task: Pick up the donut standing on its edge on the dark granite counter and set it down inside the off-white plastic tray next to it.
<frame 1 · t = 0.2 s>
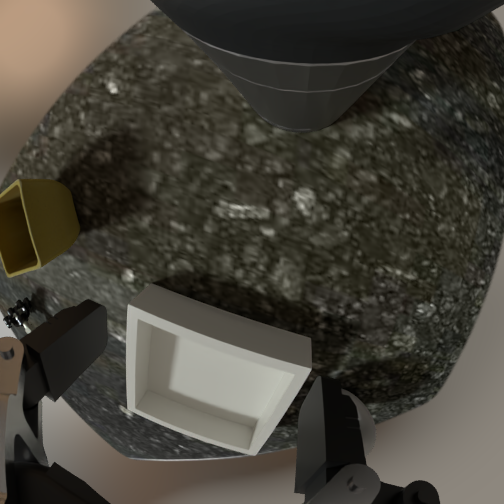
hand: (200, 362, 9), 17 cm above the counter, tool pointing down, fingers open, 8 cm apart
tray: (211, 370, 32), on the counter
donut: (340, 392, 30), on the counter
valve: (50, 328, 36), on the counter
flower pot: (64, 213, 29), on the counter
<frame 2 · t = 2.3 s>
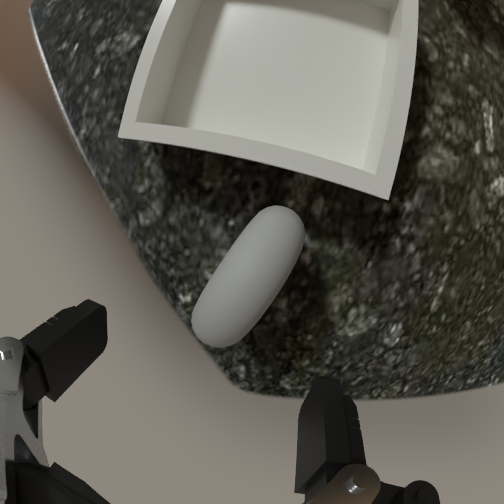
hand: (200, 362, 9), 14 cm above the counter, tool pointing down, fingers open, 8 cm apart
tray: (281, 57, 18), on the counter
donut: (258, 253, 23), on the counter
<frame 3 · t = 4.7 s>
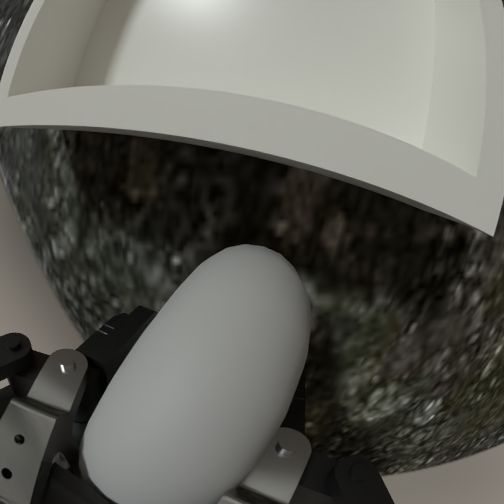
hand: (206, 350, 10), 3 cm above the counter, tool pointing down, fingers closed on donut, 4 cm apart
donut: (225, 313, 13), on the counter, touching gripper
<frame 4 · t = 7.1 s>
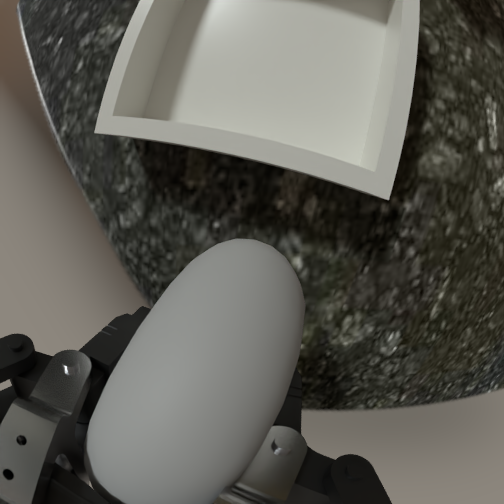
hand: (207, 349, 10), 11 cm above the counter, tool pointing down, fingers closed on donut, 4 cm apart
tray: (272, 47, 16), on the counter
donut: (224, 310, 13), point 8 cm above the counter, touching gripper
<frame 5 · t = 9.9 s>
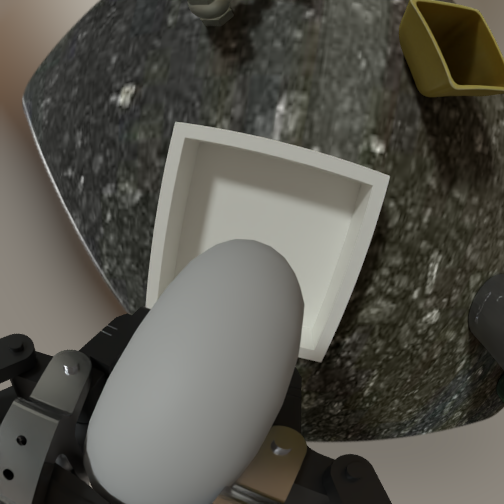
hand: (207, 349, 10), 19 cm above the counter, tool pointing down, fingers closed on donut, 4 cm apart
tray: (260, 237, 28), on the counter
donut: (224, 311, 13), point 16 cm above the counter, touching gripper
flower pot: (428, 71, 20), on the counter
when the fingers open (5 cm above the counter, at t = 13.0 s): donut drops 1 cm, resting on tray.
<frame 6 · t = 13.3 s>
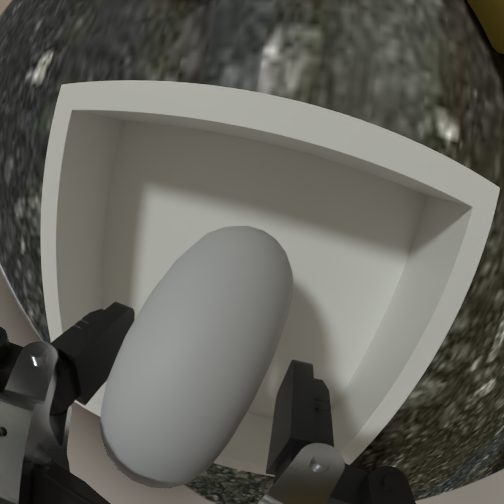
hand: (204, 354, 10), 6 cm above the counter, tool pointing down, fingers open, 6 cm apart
tray: (234, 293, 15), on the counter
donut: (230, 300, 14), point 1 cm above the counter, touching tray
flower pot: (497, 26, 8), on the counter
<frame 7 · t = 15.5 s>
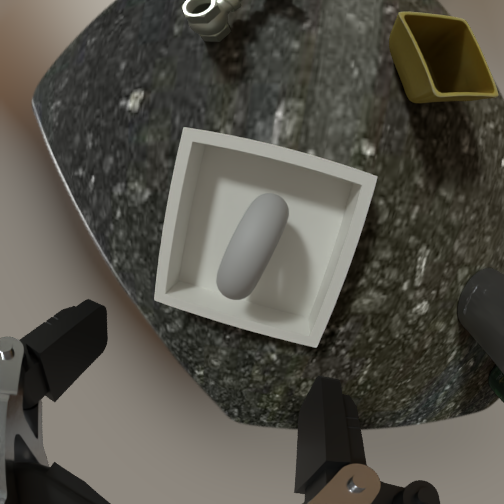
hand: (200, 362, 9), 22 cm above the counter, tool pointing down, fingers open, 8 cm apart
tray: (260, 232, 30), on the counter
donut: (259, 234, 30), point 1 cm above the counter, touching tray
valve: (238, 12, 24), on the counter
flower pot: (417, 77, 23), on the counter
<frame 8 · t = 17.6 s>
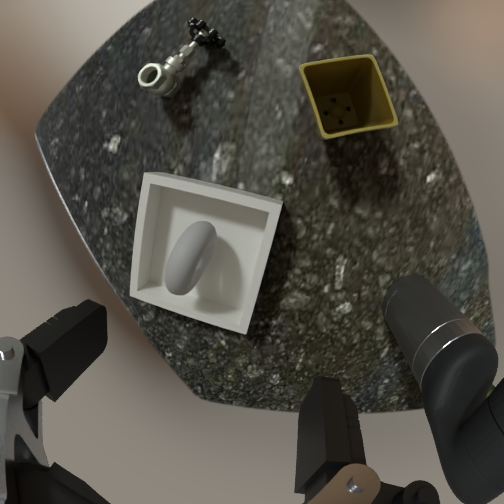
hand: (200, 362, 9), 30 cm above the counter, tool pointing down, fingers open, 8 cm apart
tray: (205, 246, 40), on the counter
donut: (203, 247, 39), point 1 cm above the counter, touching tray
valve: (187, 68, 34), on the counter
flower pot: (337, 111, 33), on the counter
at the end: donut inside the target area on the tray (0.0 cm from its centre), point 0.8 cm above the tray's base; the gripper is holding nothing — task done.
